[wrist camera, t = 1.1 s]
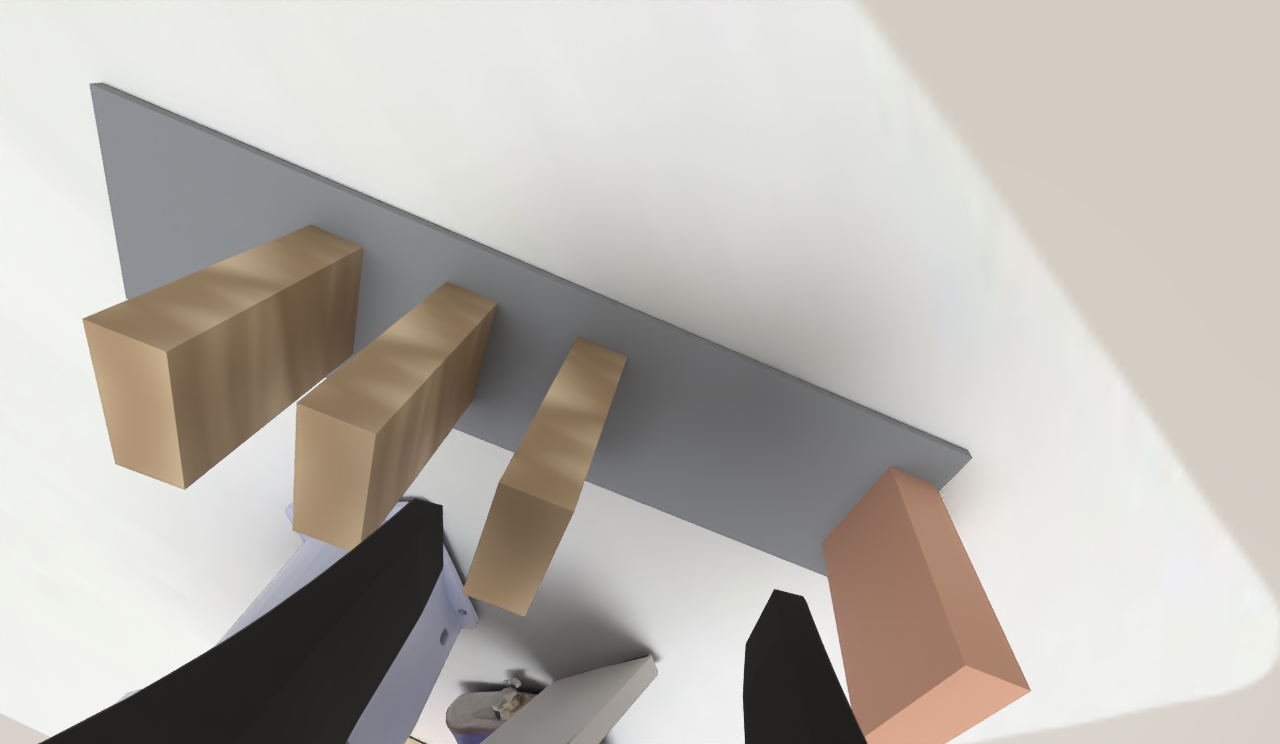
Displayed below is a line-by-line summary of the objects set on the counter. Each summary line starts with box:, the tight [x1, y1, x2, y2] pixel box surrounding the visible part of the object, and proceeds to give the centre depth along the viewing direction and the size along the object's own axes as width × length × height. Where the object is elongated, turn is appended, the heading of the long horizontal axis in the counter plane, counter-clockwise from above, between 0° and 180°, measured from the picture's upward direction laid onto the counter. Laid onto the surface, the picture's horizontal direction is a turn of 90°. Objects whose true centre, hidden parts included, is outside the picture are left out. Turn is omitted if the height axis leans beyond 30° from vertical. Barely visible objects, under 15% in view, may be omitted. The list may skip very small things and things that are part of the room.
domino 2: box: [293, 282, 498, 552], centre depth 18 cm, size 2×5×8 cm, turn 159°
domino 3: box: [462, 336, 627, 617], centre depth 18 cm, size 2×5×8 cm, turn 159°
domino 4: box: [822, 467, 1031, 744], centre depth 19 cm, size 2×5×8 cm, turn 158°
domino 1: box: [83, 225, 364, 490], centre depth 17 cm, size 2×5×8 cm, turn 158°
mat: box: [90, 83, 972, 577], centre depth 21 cm, size 34×8×1 cm, turn 69°
